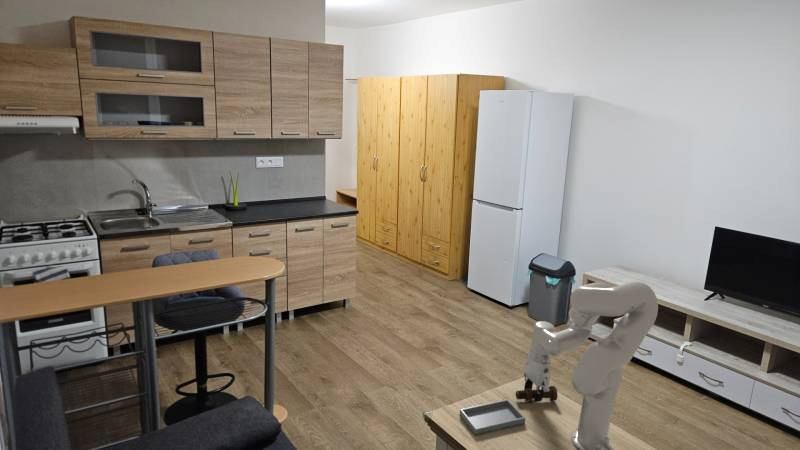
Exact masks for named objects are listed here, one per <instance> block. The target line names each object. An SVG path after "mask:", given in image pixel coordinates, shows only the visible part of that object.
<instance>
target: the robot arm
mask: <svg viewBox="0 0 800 450" xmlns="http://www.w3.org/2000/svg"><path fill="white" fill-rule="evenodd" d="M570 305H571V308H570V309H569V311H568V317H569V319H570V321H571V322H572V323H571V325H570V326H569V327H568V328H567V329H563V330H560V331H556V327H555V326H554V324H552V323H551V322H548V321H545V320H544V321H543V320H540V321H537V322H535V323H534V325H533V331H532V336H531V342H530V347H529V348H530V349H529V352H528V356H527V357H526V361H525V364H524V365H525V366H523V367H522V370H523V375H524V382H525V383H524V389H526V388H530V389H531V390H533V385H535V388H536V389H535V390H537V392H535V397H534V399H533V402H534V403H538V402H542V401H543V398H542V397H543V393H545V392H548V391H549V387H550V382H551V374H552V365H551V364H552V362H551V357H552V356H553V357H558V356H559V357H560V356H561V355H564V354H566V353H569V352H572V351H576V350H577V349H579V348H580V347H581V346H582V345H584V343H585V342H586V341H588V339H589V338H590V336H591V334H592V331H593V326H594V324H595V322H596V321H597V320H598V319H599V318H600V316H601V317H620V316H622V317H621V318H620V319H619V320H618V322H617V323H616V325H615V327H614V328H613V330H612V331H611V333H609V335H607V336H606V337H603V338H601V339H598V340H595V341H593V342H592V343H590V344H589V345H588V346H586V348H585V349H584V351H583V353H582V355H581V356H580V358H579V359H578V361H577V363H576V364H575V366H574V368H573V369H572V373H571V384H572V386H573V388H574V390H575V391H576V392H577V393H578V394H580V395H582V397H583V398H582V402H581V408H580V409H581V410H580V415H579V419H578V425H577V428H576V429H574V430H573V431H572V432H571V442H572V444H574V446H575V447H576V448H578V450H614V448H613V447H612V446H611V440H610V438H609V437H608V436H609V430H610V425H611V421H612V416H613V410H614V406H615V401H616V397H617V395H618V394H617V393H618V391H619V389H620V386H621V384H622V381H623V376H624V374H623V373H624V372H623V369H622V367H623V366H626V365H628V363H630V362H631V360H632V359H633V357H634V355H635V353H636V352H637V350H638V349H639V348H640V346H641V345H642V343H643V341H644V339H645V338H646V336H647V334H648V333H649V332H650V330H651V329H652V327H653V326H654V324H655V322H656V319H657V317H658V313H659V312H658V311H659V302H658V298H657V296H656V294H655V292H654V289H652V288H651V286H650V285H648V284H647V283H644V282H640V281H632V282H626V283H622V284H620V285H619V284H618V285H616V286H615V285H614V286H612V287H610V285H609V284H607V283H605V282H599V281H598V282H597V281H596V282H592V283H588V284H584V285H581V286H578V287H576V288H575V289H574V290H573V291H572V292H571V295H570ZM540 388H541V390H540ZM524 389H523V390H524Z"/></svg>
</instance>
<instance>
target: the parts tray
mask: <svg viewBox="0 0 800 450" xmlns="http://www.w3.org/2000/svg"><path fill="white" fill-rule="evenodd" d="M459 417H460V418H461V419H462V421H464V423H465V424H466V425H467V427H468V428H469V429H470V431H471V432H472V433H473V435H474V436H479V435H482V434H488V433H491V432H496V431H500V430H504V429H509V428H513V427H517V426H522V425H525V424H526V416H525V415H523V413H522V412H521V411H519V409H518V408H517V407H516V406H515V405H514V404H513V402H511V401H510V400H509V399H507V398H506V399H503V400H498V401H492V402H488V403H484V404H483V403H481V404H478V405H473V406H469V407H468V406H467V407H464V408H460V409H459Z"/></svg>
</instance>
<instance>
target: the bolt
mask: <svg viewBox="0 0 800 450" xmlns="http://www.w3.org/2000/svg"><path fill="white" fill-rule="evenodd" d="M548 387H549V391H548V392H545V393H543V397H542V399H550V401H557V399H558V390H557V387H556V386H555V385H549V386H548ZM540 390H541V389H540ZM535 392H537V389H532V390H531V389H530V388H526V389H523V390H522V389H521V390H516V391H515V398H516V399H517V400H525V401H526V402H527V401H529V402H530V401H533V400H534V397H535Z"/></svg>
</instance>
